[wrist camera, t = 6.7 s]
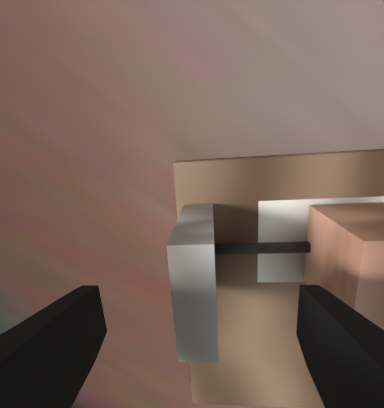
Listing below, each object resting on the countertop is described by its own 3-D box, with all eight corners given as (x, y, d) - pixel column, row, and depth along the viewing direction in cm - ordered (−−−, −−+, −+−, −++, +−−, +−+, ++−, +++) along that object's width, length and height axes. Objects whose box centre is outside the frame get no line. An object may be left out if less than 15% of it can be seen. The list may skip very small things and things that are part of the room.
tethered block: (403, 196, 12) (538, 237, 7) (387, 283, 13) (491, 369, 8) (183, 205, 13) (166, 245, 8) (189, 285, 14) (178, 361, 9)
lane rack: (546, 139, 12) (691, 139, 8) (462, 395, 16) (533, 467, 13) (176, 160, 14) (163, 168, 10) (194, 386, 18) (189, 446, 14)
